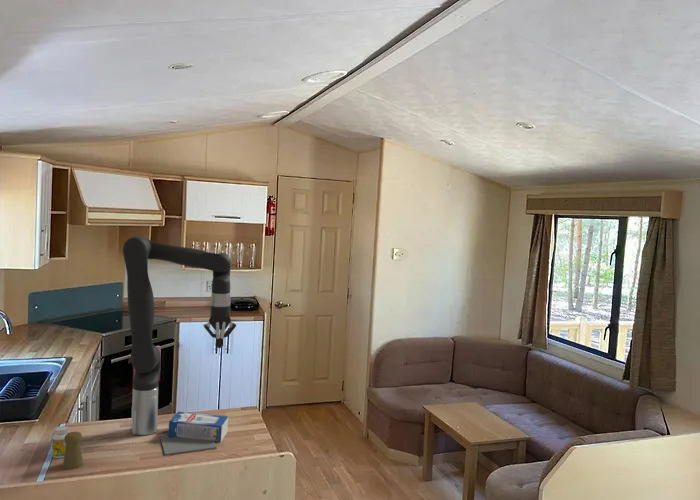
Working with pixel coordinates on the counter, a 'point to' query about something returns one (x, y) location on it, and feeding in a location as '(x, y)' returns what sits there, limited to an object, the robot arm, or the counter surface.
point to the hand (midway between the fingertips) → (219, 347)
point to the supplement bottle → (59, 442)
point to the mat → (185, 445)
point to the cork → (73, 451)
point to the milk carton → (198, 426)
